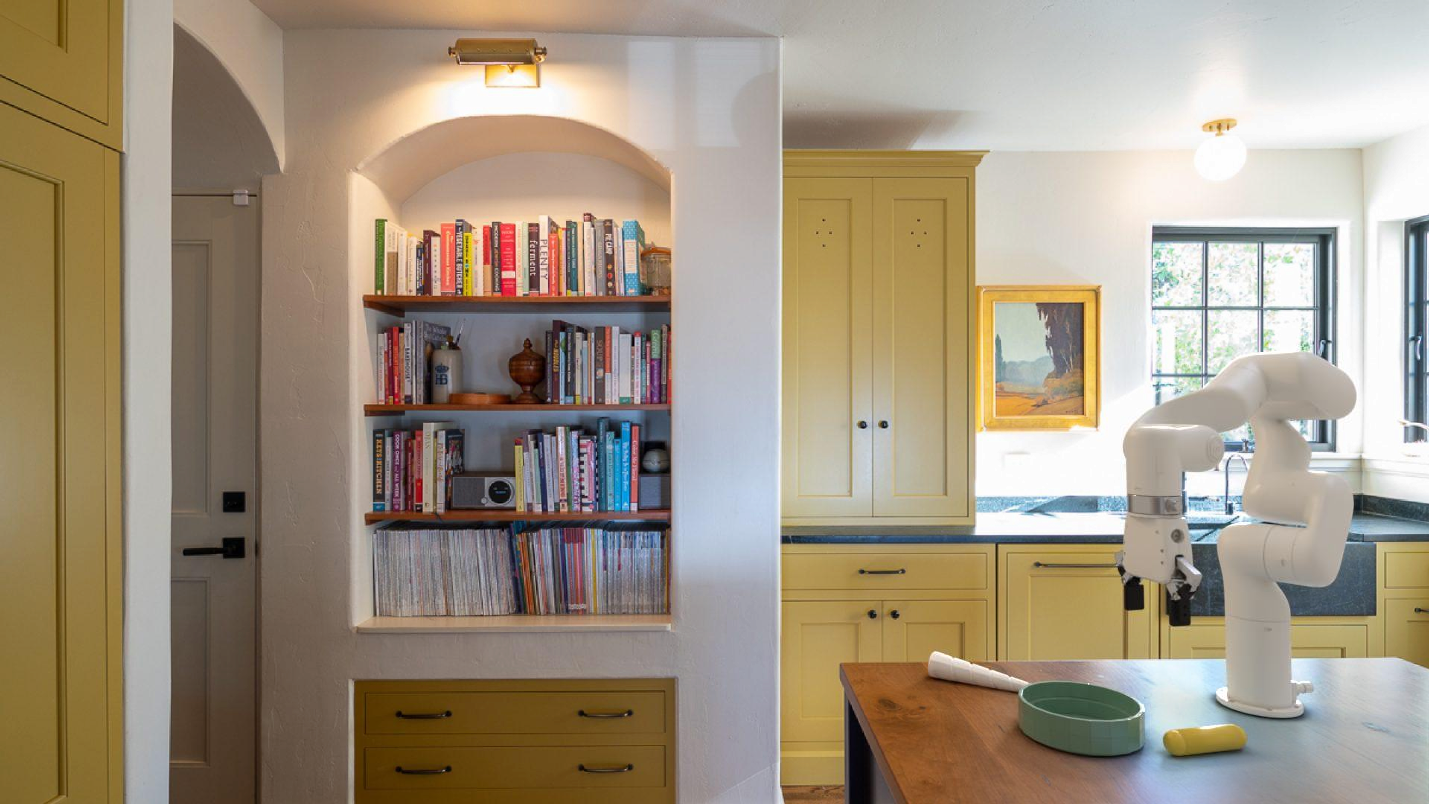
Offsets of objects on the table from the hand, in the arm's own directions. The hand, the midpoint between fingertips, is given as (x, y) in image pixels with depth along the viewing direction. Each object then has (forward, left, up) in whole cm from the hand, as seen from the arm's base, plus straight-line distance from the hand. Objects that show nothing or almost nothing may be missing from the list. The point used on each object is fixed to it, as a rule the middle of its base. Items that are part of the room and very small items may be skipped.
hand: (1156, 617), depth 124 cm
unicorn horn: (+11, -31, -20) cm, 38 cm away
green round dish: (+9, -7, -20) cm, 22 cm away
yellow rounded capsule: (-5, +3, -20) cm, 21 cm away
